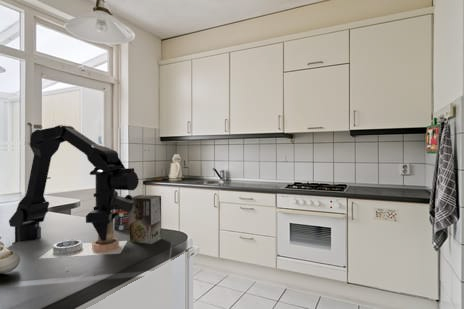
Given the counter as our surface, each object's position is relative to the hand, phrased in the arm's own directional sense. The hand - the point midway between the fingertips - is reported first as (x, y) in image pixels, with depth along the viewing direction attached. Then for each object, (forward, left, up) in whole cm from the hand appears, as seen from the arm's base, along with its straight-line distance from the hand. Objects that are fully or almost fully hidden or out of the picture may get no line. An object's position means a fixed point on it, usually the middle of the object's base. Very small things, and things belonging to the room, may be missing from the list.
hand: (105, 238), depth 87 cm
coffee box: (+12, +6, -4) cm, 14 cm away
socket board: (-5, 0, -4) cm, 7 cm away
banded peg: (0, 0, -2) cm, 2 cm away
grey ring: (-11, 0, -3) cm, 11 cm away
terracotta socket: (0, 0, -3) cm, 3 cm away
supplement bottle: (+1, +23, -4) cm, 23 cm away
